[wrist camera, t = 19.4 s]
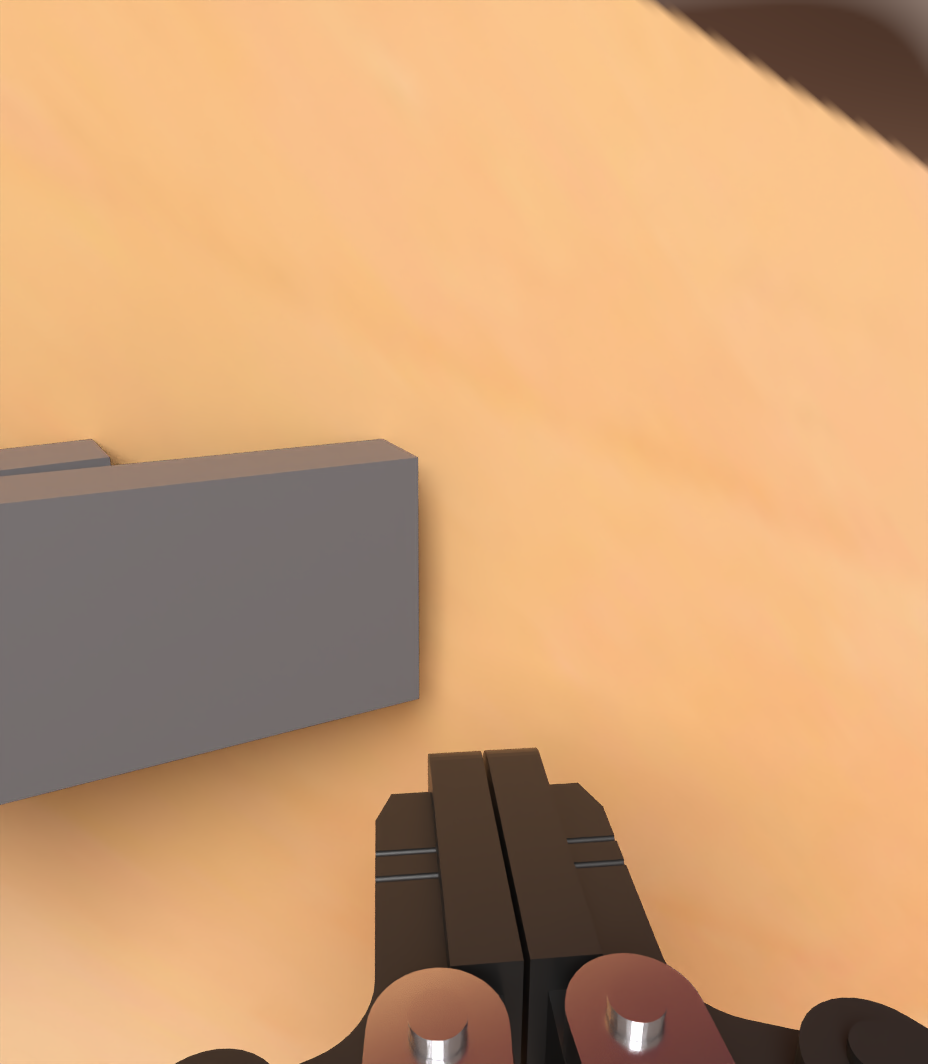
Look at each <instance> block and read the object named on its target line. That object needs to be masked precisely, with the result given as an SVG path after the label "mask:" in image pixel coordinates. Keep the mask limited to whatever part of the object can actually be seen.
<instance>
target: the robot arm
mask: <svg viewBox="0 0 928 1064" xmlns="http://www.w3.org/2000/svg"><path fill="white" fill-rule="evenodd" d="M375 852H376V857H375V881H376V883H375V986H374V993H373V997H372V1000H371V1003H370V1005H369V1008H368V1010H367V1012H366V1014H365V1015H364V1017H363V1018H362V1020H361V1022H360V1023H359V1024H358V1026H357V1027H356V1028H355V1029H354V1030H353V1031H352V1032H351V1033H350V1035H348V1036H347V1037H346V1038H345V1039H344V1040H343V1041H341V1042H340V1043H339V1044H338V1045H336V1046H335V1047H333V1048H332V1049H330V1050H328V1051H327V1052H325V1053H323V1054H321V1055H319V1056H317V1057H315V1058H312V1059H310V1060H308V1061H305V1062H303V1063H300V1064H928V1028H926V1027H924V1026H923V1025H921V1024H919V1023H918V1022H916V1021H914V1020H913V1019H911V1018H909V1017H908V1016H906V1015H904V1014H902V1013H900V1012H898V1011H897V1010H895V1009H892V1008H890V1007H887V1006H885V1005H883V1004H880V1003H876V1002H873V1001H869V1000H864V999H858V998H837V999H830V1000H828V1001H825V1002H822V1003H820V1004H818V1005H817V1006H815V1007H813V1008H812V1009H811V1010H810V1011H809V1012H808V1013H807V1014H806V1016H805V1018H804V1019H803V1021H802V1023H801V1027H800V1031H799V1030H794V1029H789V1028H785V1027H780V1026H775V1025H770V1024H766V1023H761V1022H756V1021H751V1020H747V1019H743V1018H739V1017H735V1016H732V1015H729V1014H727V1013H724V1012H722V1011H719V1010H717V1009H715V1008H713V1007H711V1006H710V1005H708V1004H706V1003H704V1002H703V1000H702V999H701V997H700V995H699V994H698V992H697V990H696V989H695V988H694V987H693V986H692V984H691V983H690V982H689V981H688V980H687V979H686V978H685V977H684V976H682V975H681V974H680V973H679V972H678V971H676V970H675V969H673V968H672V967H670V966H668V965H666V962H665V960H664V958H663V956H662V954H661V951H660V949H659V946H658V944H657V941H656V939H655V936H654V934H653V931H652V929H651V926H650V924H649V921H648V919H647V916H646V914H645V911H644V909H643V906H642V904H641V901H640V899H639V896H638V894H637V891H636V889H635V886H634V884H633V881H632V879H631V876H630V874H629V871H628V869H627V866H626V865H624V859H623V856H622V854H621V851H620V849H619V846H618V844H617V841H615V840H614V833H613V831H612V828H611V826H610V823H609V821H608V818H607V816H606V813H605V811H604V808H603V806H602V805H601V804H600V803H599V802H597V801H596V800H595V799H594V798H593V797H592V796H591V795H590V794H589V793H588V792H587V791H586V790H585V789H584V788H583V787H582V786H581V785H580V784H579V783H569V784H552V785H549V782H548V779H547V776H546V773H545V770H544V767H543V763H542V760H541V757H540V754H539V751H538V749H537V748H522V749H504V750H486V751H484V753H483V757H482V753H481V751H472V752H454V753H436V754H428V792H422V793H405V794H391V796H390V798H389V799H388V801H387V803H386V804H385V806H384V808H383V809H382V811H381V813H380V814H379V816H378V818H377V819H376V844H375ZM176 1064H269V1063H268V1062H266V1061H265V1060H264V1059H262V1058H261V1057H259V1056H257V1055H255V1054H253V1053H250V1052H247V1051H243V1050H237V1049H215V1050H210V1051H205V1052H201V1053H198V1054H195V1055H192V1056H189V1057H187V1058H185V1059H183V1060H181V1061H179V1062H177V1063H176Z"/></svg>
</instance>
